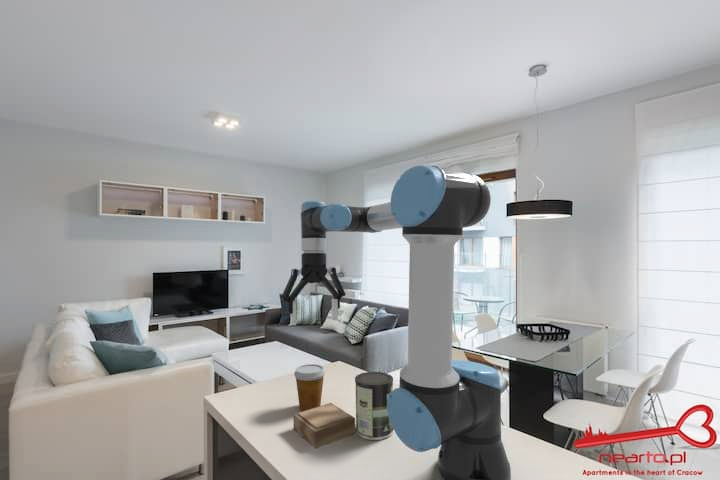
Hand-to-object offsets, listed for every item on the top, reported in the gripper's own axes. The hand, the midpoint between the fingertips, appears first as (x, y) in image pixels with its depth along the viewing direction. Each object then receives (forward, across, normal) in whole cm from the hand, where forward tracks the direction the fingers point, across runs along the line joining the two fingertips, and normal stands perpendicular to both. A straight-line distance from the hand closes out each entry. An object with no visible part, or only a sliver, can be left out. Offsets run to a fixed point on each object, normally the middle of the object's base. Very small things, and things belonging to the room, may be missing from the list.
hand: (314, 322), depth 110 cm
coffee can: (+27, -9, +19) cm, 34 cm away
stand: (+27, +3, +12) cm, 30 cm away
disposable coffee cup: (+27, +1, -3) cm, 27 cm away
